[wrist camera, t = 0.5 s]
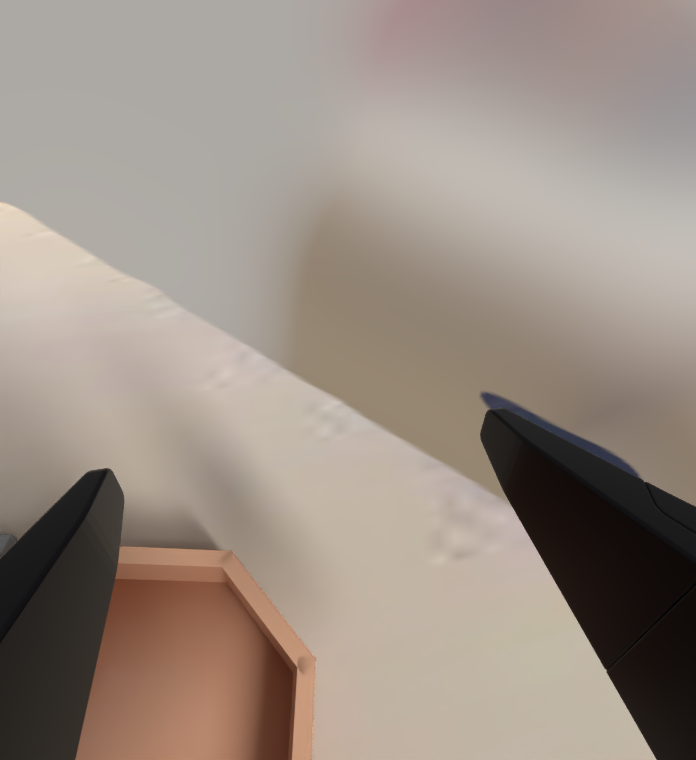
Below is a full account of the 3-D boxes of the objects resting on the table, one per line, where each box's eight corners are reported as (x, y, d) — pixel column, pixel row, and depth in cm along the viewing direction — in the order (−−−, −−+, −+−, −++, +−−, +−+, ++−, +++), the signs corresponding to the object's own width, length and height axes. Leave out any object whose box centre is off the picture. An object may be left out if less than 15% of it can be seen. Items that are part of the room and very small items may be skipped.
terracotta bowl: (291, 1059, 14) (299, 1143, 11) (-245, 1127, 12) (-398, 1251, 9) (313, 572, 24) (320, 553, 21) (29, 561, 22) (-4, 539, 19)
